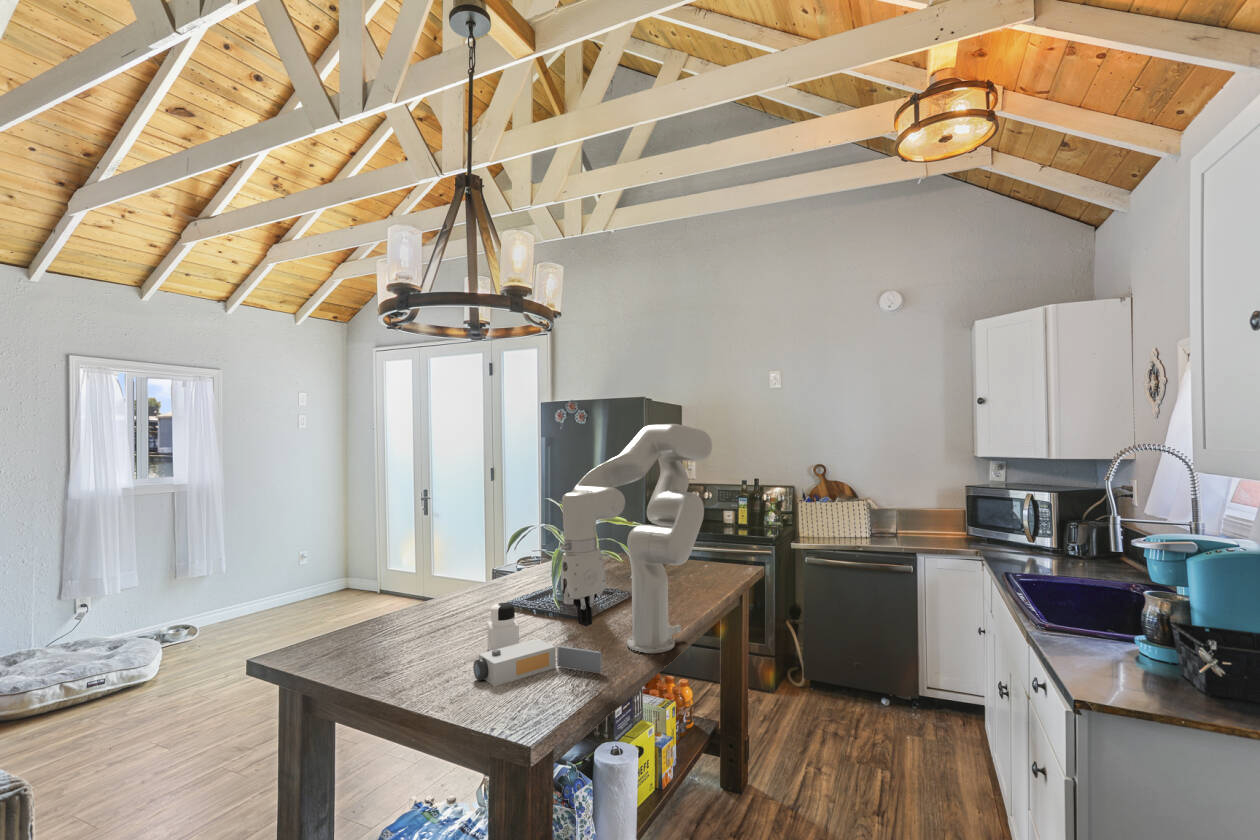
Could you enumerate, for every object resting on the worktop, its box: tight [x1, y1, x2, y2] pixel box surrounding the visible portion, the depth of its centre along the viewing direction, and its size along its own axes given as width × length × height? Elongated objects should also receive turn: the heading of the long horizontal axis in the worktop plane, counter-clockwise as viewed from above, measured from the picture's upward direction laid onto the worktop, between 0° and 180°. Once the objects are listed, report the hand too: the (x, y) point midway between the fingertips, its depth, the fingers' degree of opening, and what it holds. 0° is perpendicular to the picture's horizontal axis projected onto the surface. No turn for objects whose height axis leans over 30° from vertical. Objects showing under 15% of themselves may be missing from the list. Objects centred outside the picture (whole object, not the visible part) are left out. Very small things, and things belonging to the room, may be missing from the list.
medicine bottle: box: [486, 602, 520, 651], centre depth 154 cm, size 7×7×12 cm
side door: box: [556, 645, 603, 674], centre depth 140 cm, size 12×1×5 cm, turn 66°
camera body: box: [472, 638, 557, 687], centre depth 139 cm, size 18×8×6 cm, turn 130°
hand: (585, 624), depth 136 cm, fingers closed
